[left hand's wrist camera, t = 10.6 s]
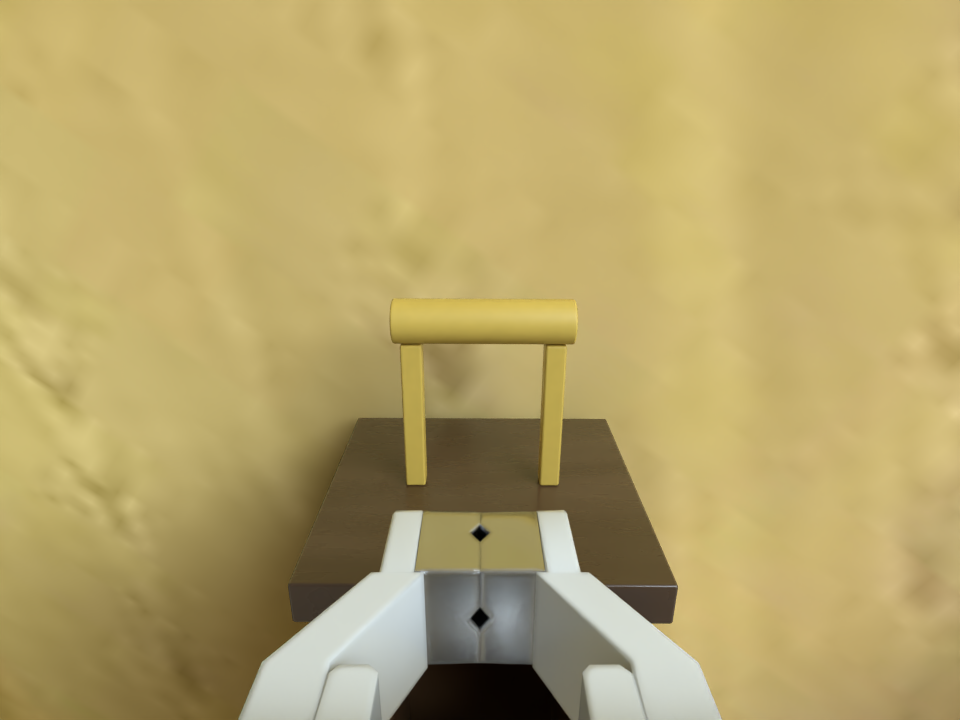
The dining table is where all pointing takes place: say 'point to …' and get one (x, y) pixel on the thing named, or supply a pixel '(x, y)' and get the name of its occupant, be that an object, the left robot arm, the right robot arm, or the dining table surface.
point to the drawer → (483, 494)
